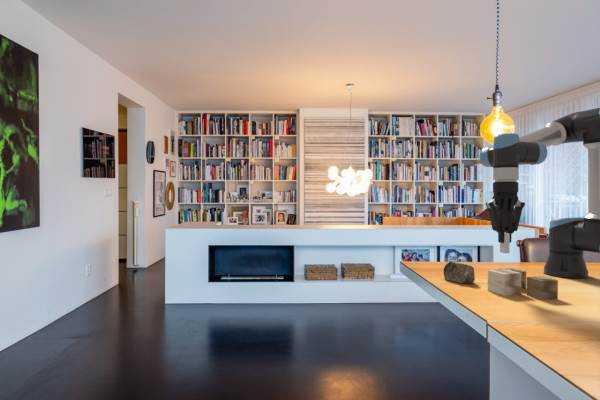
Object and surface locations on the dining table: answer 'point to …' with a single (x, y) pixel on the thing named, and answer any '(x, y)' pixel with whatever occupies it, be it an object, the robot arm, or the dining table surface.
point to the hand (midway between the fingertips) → (504, 252)
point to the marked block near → (523, 281)
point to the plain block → (504, 282)
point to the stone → (459, 272)
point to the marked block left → (542, 288)
